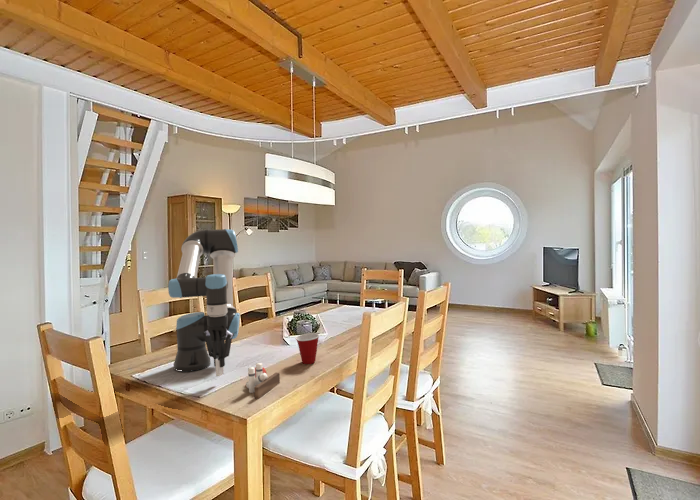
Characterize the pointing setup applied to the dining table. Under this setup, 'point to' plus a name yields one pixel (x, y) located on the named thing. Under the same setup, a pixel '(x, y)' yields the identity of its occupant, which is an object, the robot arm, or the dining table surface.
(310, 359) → the plastic cup
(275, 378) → the stopper wall
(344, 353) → the dining table surface
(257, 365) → the pin
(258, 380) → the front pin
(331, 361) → the dining table surface
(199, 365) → the robot arm
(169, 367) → the dining table surface
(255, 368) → the ball
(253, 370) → the pin
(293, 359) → the dining table surface
